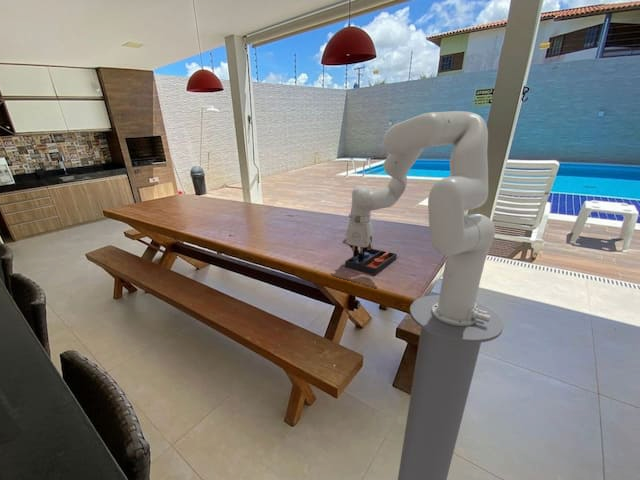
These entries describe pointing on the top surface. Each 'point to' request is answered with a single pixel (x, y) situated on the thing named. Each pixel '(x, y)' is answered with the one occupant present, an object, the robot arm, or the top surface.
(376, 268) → the sorting tray
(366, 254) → the blue spoon
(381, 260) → the terracotta spoon
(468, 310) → the robot arm
